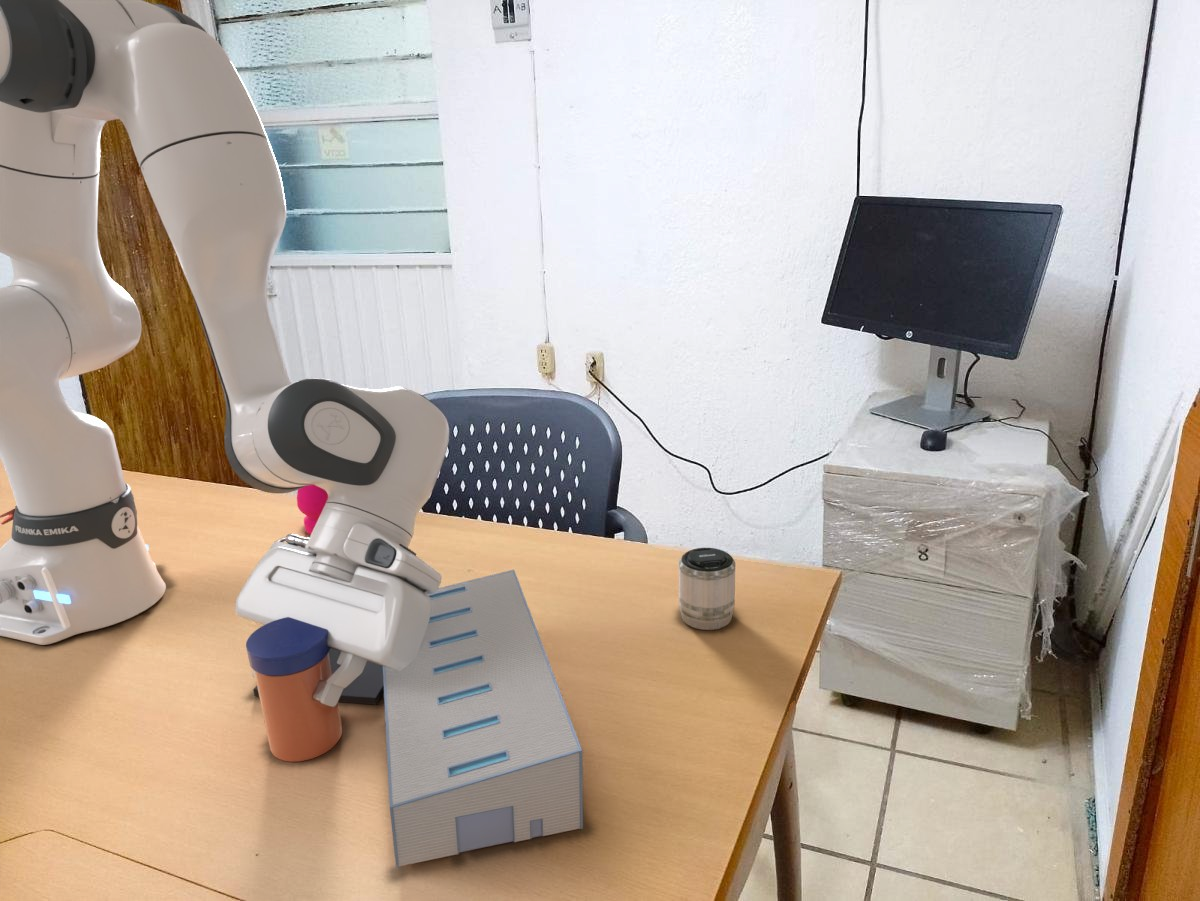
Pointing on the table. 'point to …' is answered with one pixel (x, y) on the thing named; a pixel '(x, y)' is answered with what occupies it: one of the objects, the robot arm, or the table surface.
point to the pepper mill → (311, 504)
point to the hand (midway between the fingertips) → (292, 692)
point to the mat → (358, 683)
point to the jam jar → (298, 713)
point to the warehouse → (479, 730)
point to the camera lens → (706, 588)
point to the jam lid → (286, 647)
